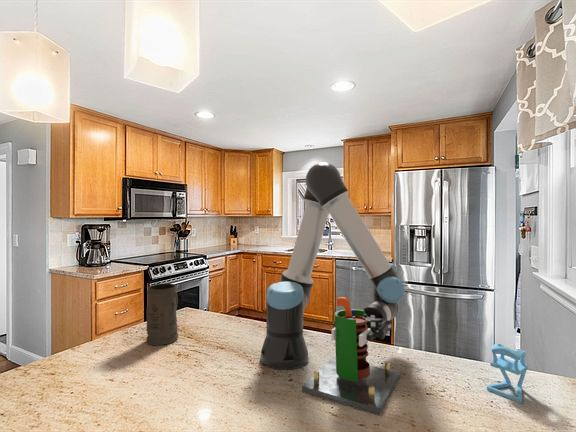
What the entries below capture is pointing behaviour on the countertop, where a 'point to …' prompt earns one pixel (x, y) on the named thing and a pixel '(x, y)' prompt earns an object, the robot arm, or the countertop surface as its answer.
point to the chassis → (354, 387)
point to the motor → (350, 342)
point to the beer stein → (162, 314)
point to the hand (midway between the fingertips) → (346, 337)
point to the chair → (508, 369)
